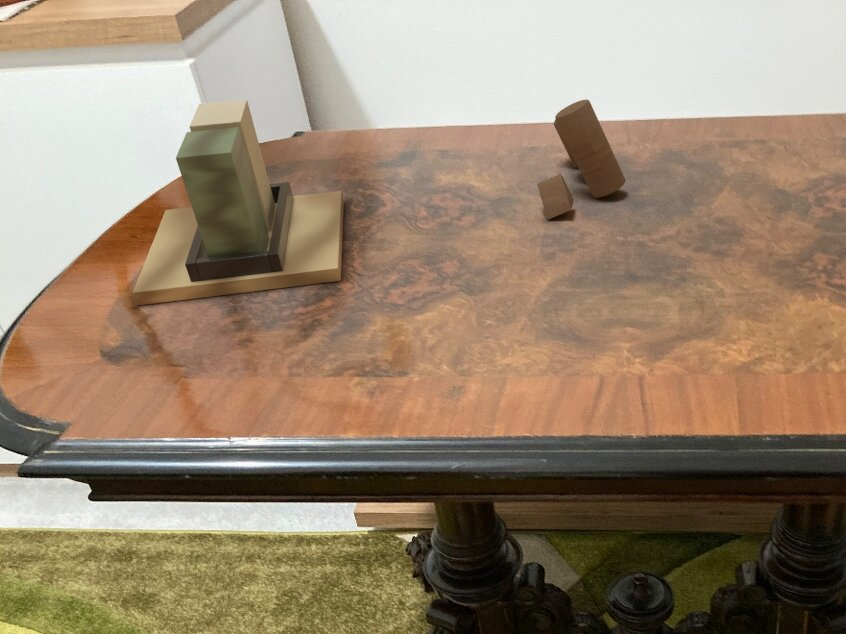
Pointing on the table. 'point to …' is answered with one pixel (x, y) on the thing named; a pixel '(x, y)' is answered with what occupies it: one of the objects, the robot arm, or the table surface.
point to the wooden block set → (581, 159)
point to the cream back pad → (240, 117)
